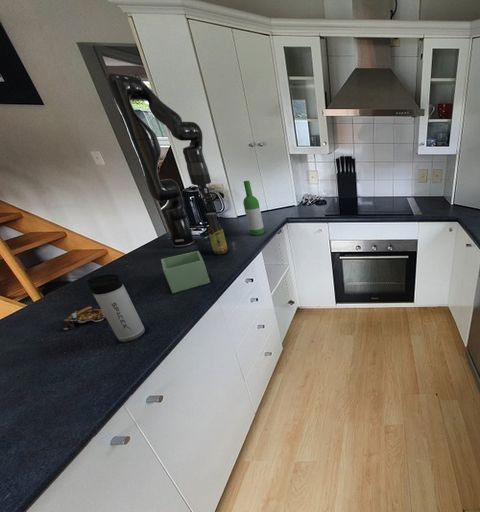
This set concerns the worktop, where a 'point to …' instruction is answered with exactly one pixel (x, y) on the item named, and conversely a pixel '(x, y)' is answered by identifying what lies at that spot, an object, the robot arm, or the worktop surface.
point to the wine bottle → (252, 211)
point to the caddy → (185, 271)
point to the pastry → (84, 316)
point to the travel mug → (116, 306)
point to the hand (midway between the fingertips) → (209, 208)
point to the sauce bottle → (216, 234)
